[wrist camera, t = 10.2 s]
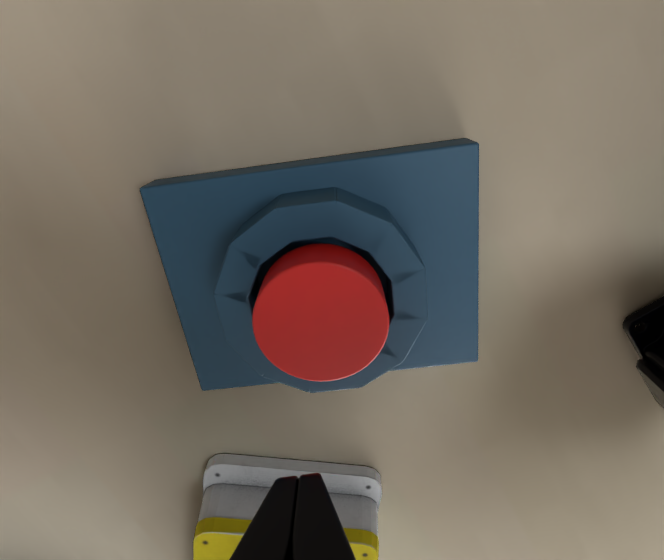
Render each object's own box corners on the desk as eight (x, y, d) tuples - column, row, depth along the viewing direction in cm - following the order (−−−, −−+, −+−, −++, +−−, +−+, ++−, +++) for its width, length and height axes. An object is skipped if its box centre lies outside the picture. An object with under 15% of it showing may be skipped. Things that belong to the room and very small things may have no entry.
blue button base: (467, 137, 16) (499, 150, 13) (468, 343, 20) (494, 393, 17) (153, 179, 17) (111, 202, 14) (210, 371, 21) (187, 424, 17)
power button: (378, 235, 15) (383, 253, 13) (388, 346, 16) (394, 375, 15) (248, 251, 15) (238, 271, 13) (272, 359, 17) (265, 389, 15)
